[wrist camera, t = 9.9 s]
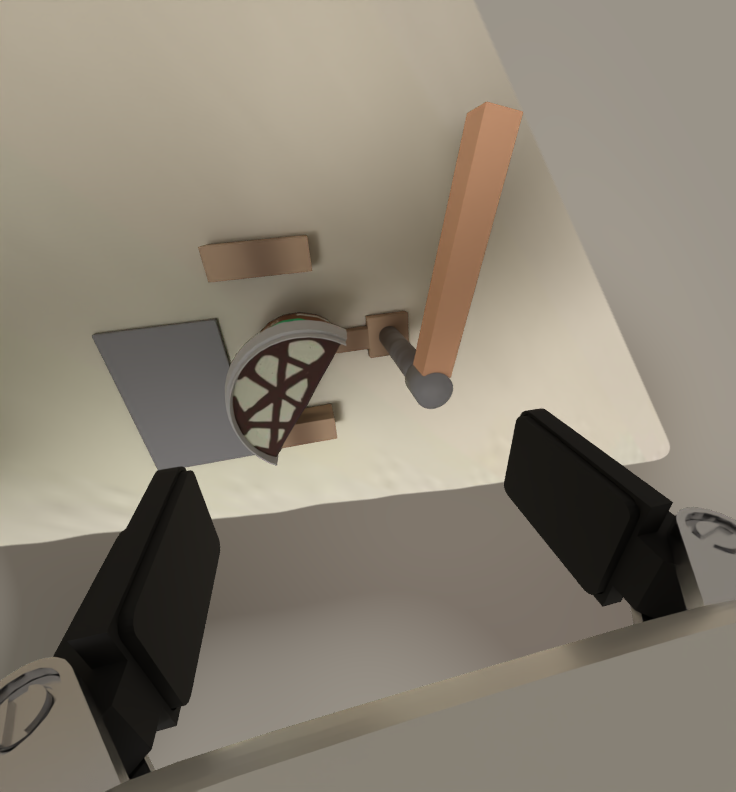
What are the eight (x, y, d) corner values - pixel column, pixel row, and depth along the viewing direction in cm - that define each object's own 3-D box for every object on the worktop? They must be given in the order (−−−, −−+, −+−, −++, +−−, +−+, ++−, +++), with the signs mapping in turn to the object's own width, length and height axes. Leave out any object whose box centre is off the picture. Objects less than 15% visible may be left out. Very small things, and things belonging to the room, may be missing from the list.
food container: (272, 270, 29) (263, 292, 20) (334, 305, 31) (350, 338, 23) (219, 386, 33) (193, 445, 24) (278, 409, 35) (273, 471, 27)
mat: (160, 469, 36) (158, 472, 35) (94, 333, 29) (91, 335, 28) (256, 451, 37) (255, 454, 37) (216, 318, 30) (215, 320, 30)
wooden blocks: (261, 435, 36) (250, 508, 27) (207, 244, 27) (163, 257, 18) (407, 410, 39) (443, 469, 29) (402, 225, 29) (452, 228, 20)
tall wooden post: (460, 113, 17) (482, 98, 15) (503, 124, 18) (531, 112, 16) (402, 392, 25) (412, 408, 22) (434, 393, 25) (447, 409, 23)
